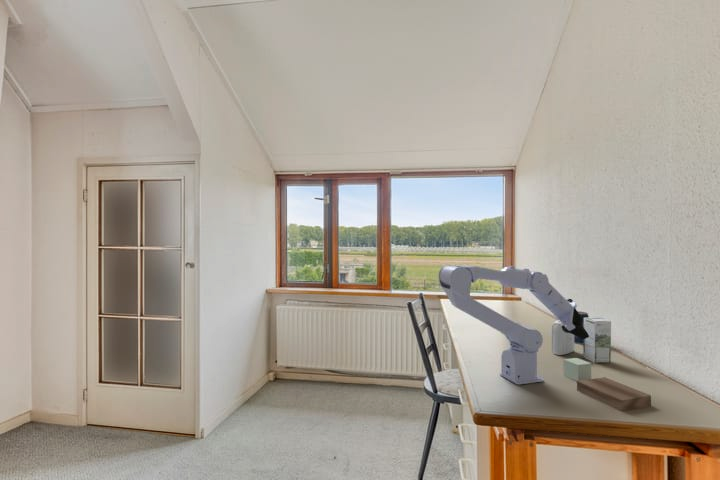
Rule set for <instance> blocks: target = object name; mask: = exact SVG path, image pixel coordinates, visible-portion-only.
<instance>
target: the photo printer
mask: <svg viewBox="0 0 720 480" xmlns="http://www.w3.org/2000/svg"><path fill="white" fill-rule="evenodd" d="M563 325H564V324H563V323H562V322H561V321H559V320H558V319H557V320H555V322H553V323H552V326H551V353H553V354H554V355H557V356H565V355H568V354H571V353H573V352H574V351H575V343H574V335H573V334H571V333H566V332H564V331H563V330H562V327H561V326H563Z"/></svg>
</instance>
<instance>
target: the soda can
mask: <svg viewBox="0 0 720 480" xmlns="http://www.w3.org/2000/svg"><path fill="white" fill-rule="evenodd" d="M577 312H578V313H579V315H580V316H581V318H582V321H581V323H582V326H583V328H584V317H590V315H589V313H588V312H584V311H578V310H577ZM574 344H580V345H583V344H584V340H583V339H581V338H579V337H577V336H575V335H574Z"/></svg>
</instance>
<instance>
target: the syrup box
mask: <svg viewBox="0 0 720 480" xmlns="http://www.w3.org/2000/svg"><path fill="white" fill-rule="evenodd" d="M584 329H585V330H586V332H587V333H588V335H589V337H588V338H586V339H584V344H582V345H583V351H582V352H583V353H582V354H583V355H582V356H583V359H586V360H587V361H590V362H592V363H595V364H596V363H597V364H599V363H600V364H602V363H603V364H606V363H607V364H609V363H611V360H612V359H611V357H612V356H611V352H612V351H611V350H612V321H611V320H609V319H607V318H604V317H601V316H600V317H599V316H598V317H597V316H595V317H590V316H589V317H584Z"/></svg>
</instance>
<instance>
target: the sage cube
mask: <svg viewBox="0 0 720 480" xmlns="http://www.w3.org/2000/svg"><path fill="white" fill-rule="evenodd" d="M563 376H564V377H567V378H569V379H571V380H573V381H575V382H577V381H582V380H589V379H592V363H591V362H588V361H586V360H584V359H581V358H577V357H573V358H563Z"/></svg>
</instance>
